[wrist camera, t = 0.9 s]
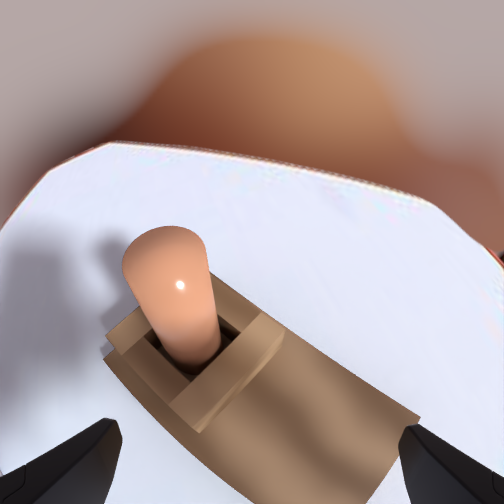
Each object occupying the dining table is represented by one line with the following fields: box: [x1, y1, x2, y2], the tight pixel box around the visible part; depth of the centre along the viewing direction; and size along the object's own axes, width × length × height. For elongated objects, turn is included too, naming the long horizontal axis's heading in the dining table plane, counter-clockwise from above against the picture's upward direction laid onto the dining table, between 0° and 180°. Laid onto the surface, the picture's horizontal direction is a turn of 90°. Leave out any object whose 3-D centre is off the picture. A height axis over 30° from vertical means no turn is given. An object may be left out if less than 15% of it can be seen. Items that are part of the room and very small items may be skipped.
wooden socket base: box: [103, 272, 421, 504], centre depth 20 cm, size 12×22×4 cm, turn 50°
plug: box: [122, 226, 224, 375], centre depth 18 cm, size 4×4×11 cm
